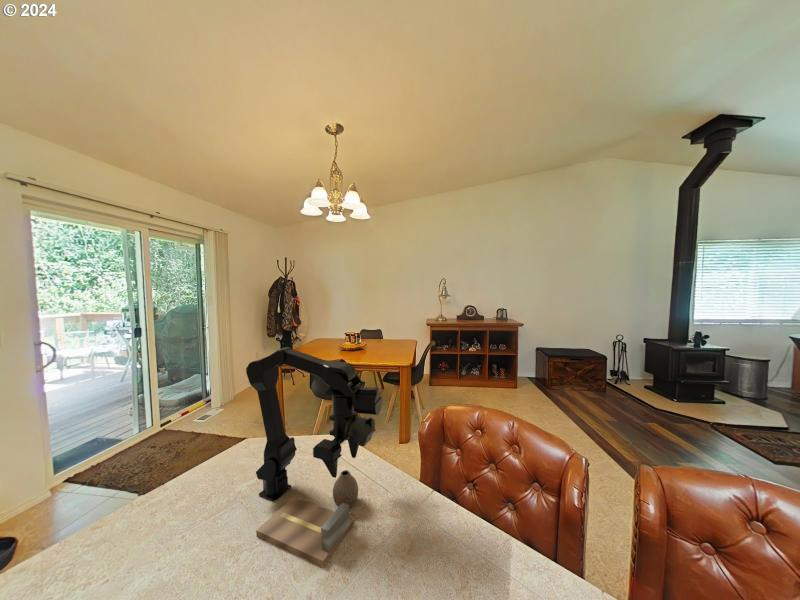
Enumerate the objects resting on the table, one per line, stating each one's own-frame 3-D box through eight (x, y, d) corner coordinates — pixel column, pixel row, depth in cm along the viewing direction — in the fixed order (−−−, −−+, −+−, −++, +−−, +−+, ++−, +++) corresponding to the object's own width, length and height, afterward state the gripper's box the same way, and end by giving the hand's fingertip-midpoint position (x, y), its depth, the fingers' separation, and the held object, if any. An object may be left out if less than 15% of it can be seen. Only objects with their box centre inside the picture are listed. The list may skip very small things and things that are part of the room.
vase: (353, 515, 74) (352, 482, 74) (328, 511, 75) (327, 479, 75) (362, 496, 81) (361, 466, 80) (339, 493, 82) (338, 463, 82)
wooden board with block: (256, 536, 68) (255, 510, 68) (293, 501, 79) (292, 479, 79) (323, 567, 60) (322, 538, 60) (354, 524, 71) (353, 499, 71)
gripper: (348, 432, 65) (350, 498, 66) (385, 402, 82) (386, 455, 83) (310, 423, 70) (312, 485, 70) (352, 397, 87) (353, 447, 87)
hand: (344, 466), depth 78 cm, fingers open, 9 cm apart
